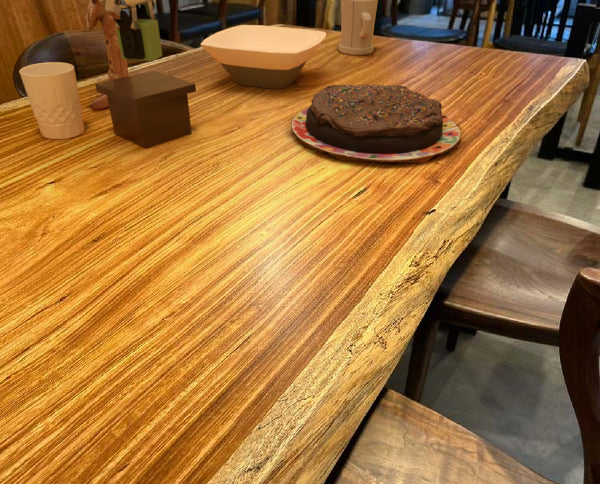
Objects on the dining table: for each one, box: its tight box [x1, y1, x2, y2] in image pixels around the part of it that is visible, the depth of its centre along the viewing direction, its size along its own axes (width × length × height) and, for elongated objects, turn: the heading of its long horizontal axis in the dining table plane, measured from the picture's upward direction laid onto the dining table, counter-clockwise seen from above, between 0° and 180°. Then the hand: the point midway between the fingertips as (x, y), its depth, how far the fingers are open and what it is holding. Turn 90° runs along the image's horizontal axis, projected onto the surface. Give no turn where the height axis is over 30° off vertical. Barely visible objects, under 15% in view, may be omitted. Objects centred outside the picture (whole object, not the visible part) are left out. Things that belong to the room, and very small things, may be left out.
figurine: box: [83, 0, 129, 110], centre depth 95 cm, size 11×8×20 cm
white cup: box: [18, 61, 85, 140], centre depth 85 cm, size 8×8×10 cm
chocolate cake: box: [290, 84, 462, 164], centre depth 88 cm, size 28×28×7 cm
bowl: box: [199, 24, 327, 90], centre depth 111 cm, size 22×23×8 cm
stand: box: [94, 70, 197, 149], centre depth 86 cm, size 11×11×8 cm
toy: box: [115, 19, 163, 62], centre depth 80 cm, size 5×4×5 cm
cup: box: [338, 0, 379, 56], centre depth 131 cm, size 10×9×12 cm
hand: (141, 53), depth 81 cm, fingers closed on toy, 3 cm apart
